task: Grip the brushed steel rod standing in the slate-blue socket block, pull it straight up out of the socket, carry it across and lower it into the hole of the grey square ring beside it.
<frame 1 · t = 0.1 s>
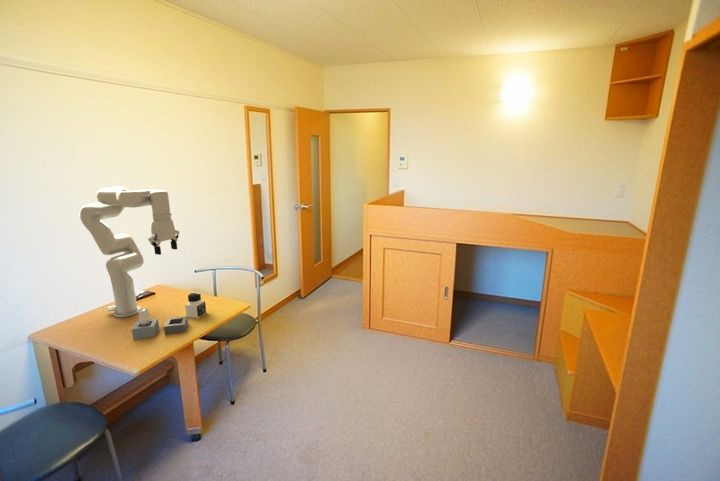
hand: (166, 251, 176), 37 cm above the table, tool pointing down, fingers open, 9 cm apart
steel rod: (144, 321, 172), in the socket block
medicine bottle: (196, 315, 193), on the table
socket block: (146, 333, 173), on the table
grey square ring: (176, 328, 178), on the table
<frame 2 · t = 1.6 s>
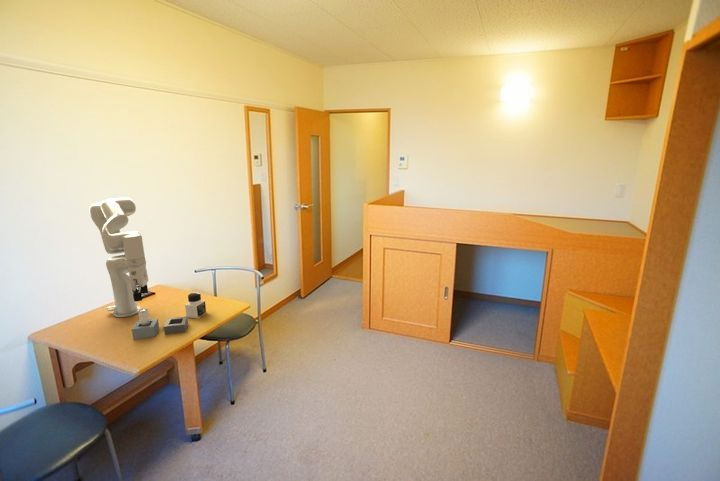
hand: (141, 296, 168), 19 cm above the table, tool pointing down, fingers open, 9 cm apart
nothing on the table moved.
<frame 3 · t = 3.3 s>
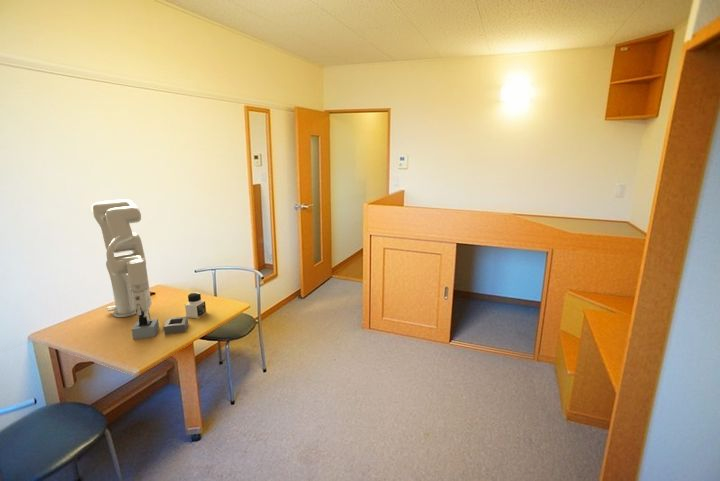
hand: (145, 322, 172), 6 cm above the table, tool pointing down, fingers closed on steel rod, 4 cm apart
steel rod: (144, 321, 172), in the socket block, touching gripper
everything else where it was.
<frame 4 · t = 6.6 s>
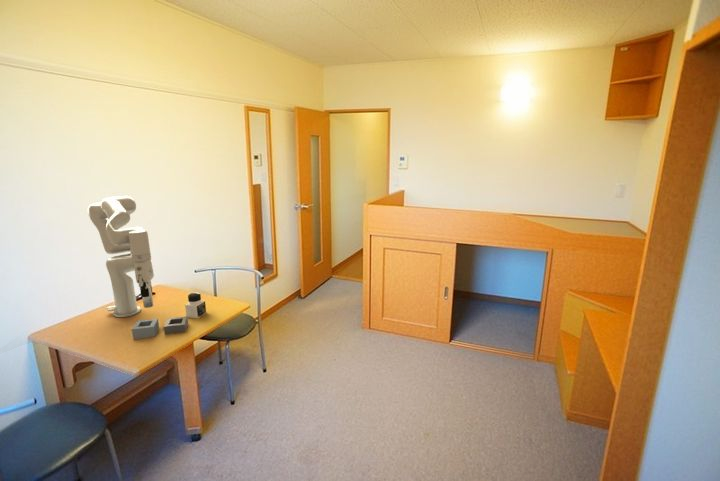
hand: (147, 294, 169), 20 cm above the table, tool pointing down, fingers closed on steel rod, 4 cm apart
steel rod: (146, 294, 169), point 20 cm above the table, touching gripper
everything else where it was.
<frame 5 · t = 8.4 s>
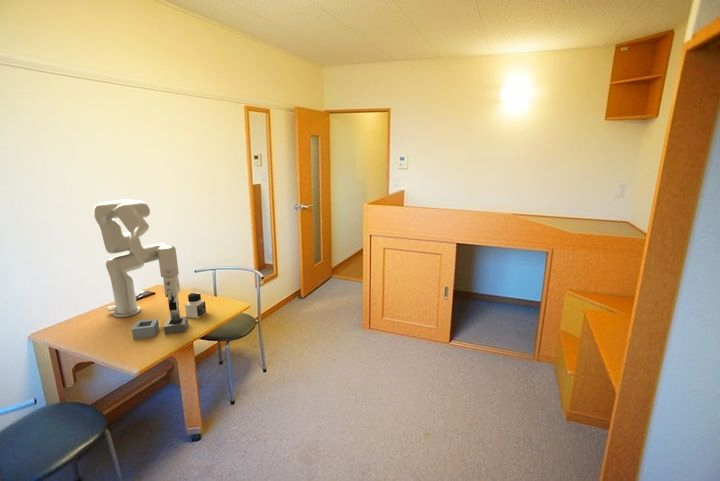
hand: (174, 307, 175), 11 cm above the table, tool pointing down, fingers closed on steel rod, 4 cm apart
steel rod: (174, 307, 175), point 11 cm above the table, touching gripper
everything else where it was.
when the fingers open (7 cm above the table, at t = 9.7 s): steel rod stays where it is, resting in grey square ring.
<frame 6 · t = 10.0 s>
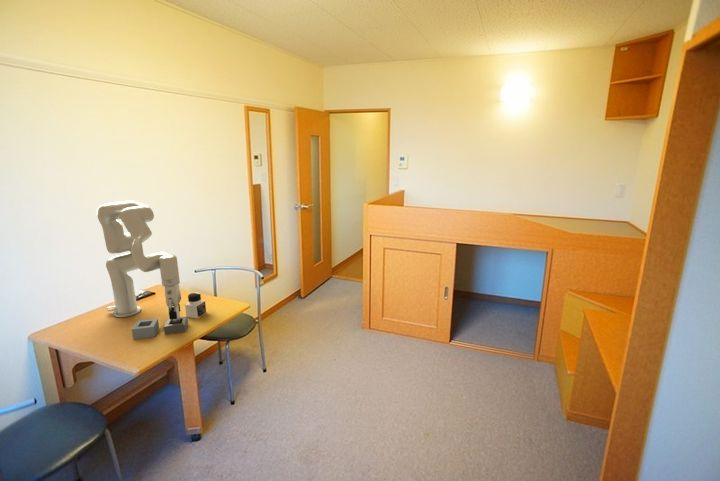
hand: (175, 315, 176), 7 cm above the table, tool pointing down, fingers open, 7 cm apart
steel rod: (175, 317, 176), in the grey square ring
everything else where it was.
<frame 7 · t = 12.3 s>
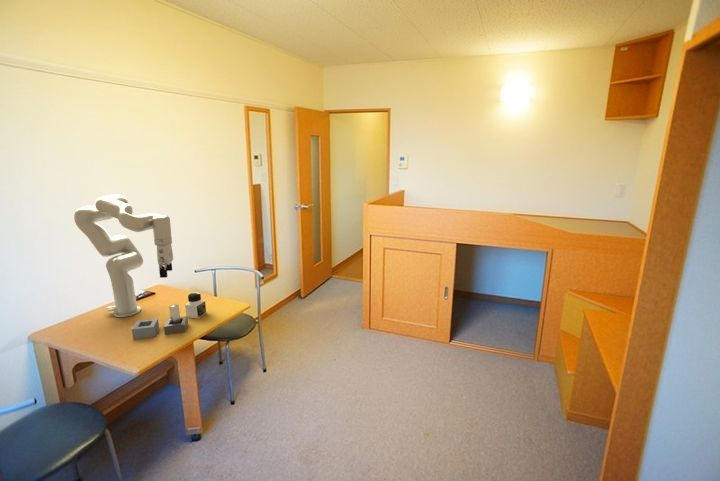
hand: (166, 273, 182), 25 cm above the table, tool pointing down, fingers open, 9 cm apart
nothing on the table moved.
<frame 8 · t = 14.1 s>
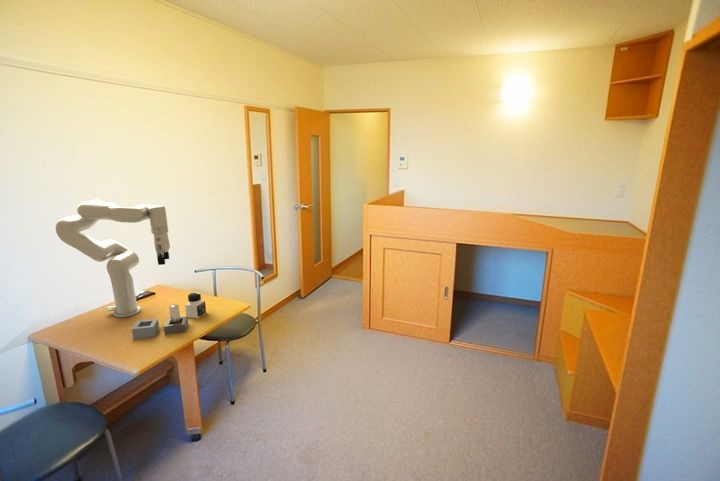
hand: (163, 261, 189), 28 cm above the table, tool pointing down, fingers open, 9 cm apart
nothing on the table moved.
at the end: steel rod 0.1 cm off-centre on the grey square ring, point 6.0 cm above the grey square ring's base; steel rod tilted 0°; the gripper is holding nothing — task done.
